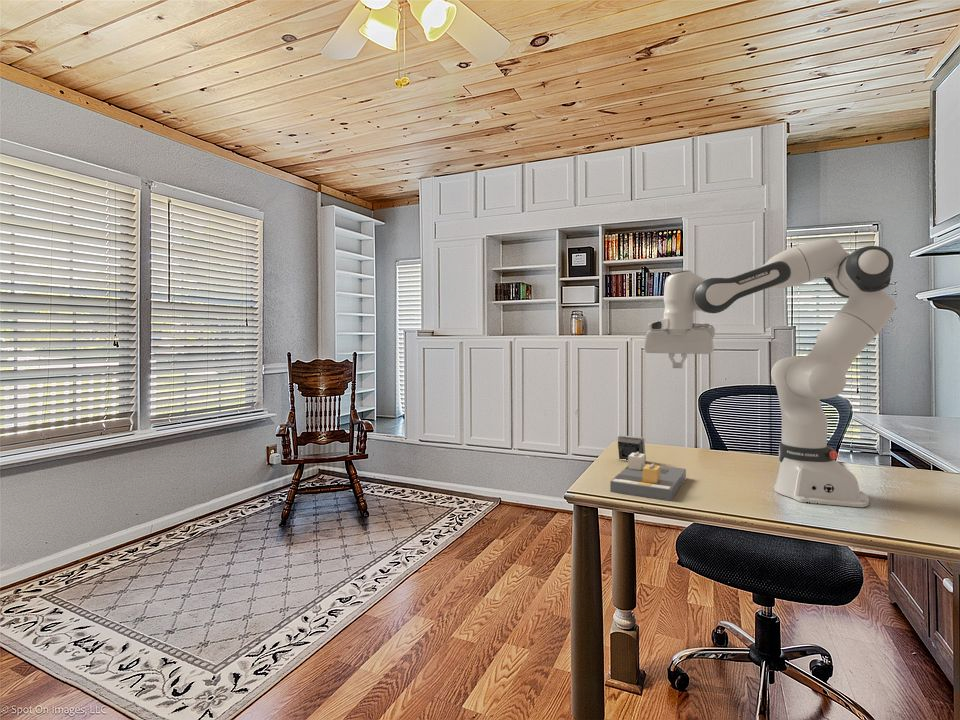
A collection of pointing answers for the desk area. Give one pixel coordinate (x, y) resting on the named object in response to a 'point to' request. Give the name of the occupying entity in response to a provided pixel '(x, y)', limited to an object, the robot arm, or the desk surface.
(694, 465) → the desk surface
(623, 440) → the grey hollow box
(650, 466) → the amber slider
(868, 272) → the robot arm
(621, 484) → the switch unit
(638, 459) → the ivory slider
